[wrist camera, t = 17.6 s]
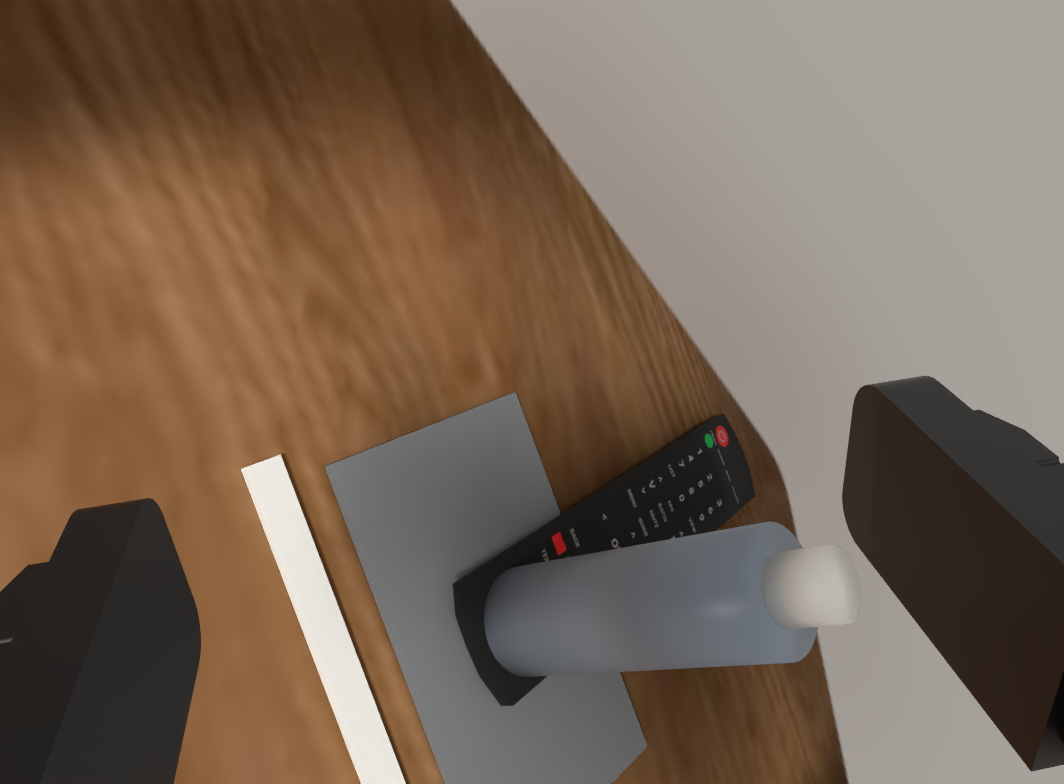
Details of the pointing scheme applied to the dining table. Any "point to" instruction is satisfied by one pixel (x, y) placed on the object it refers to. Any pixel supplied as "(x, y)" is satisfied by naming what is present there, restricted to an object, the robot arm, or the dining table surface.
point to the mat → (428, 602)
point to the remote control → (616, 528)
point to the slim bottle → (672, 604)
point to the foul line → (322, 622)
